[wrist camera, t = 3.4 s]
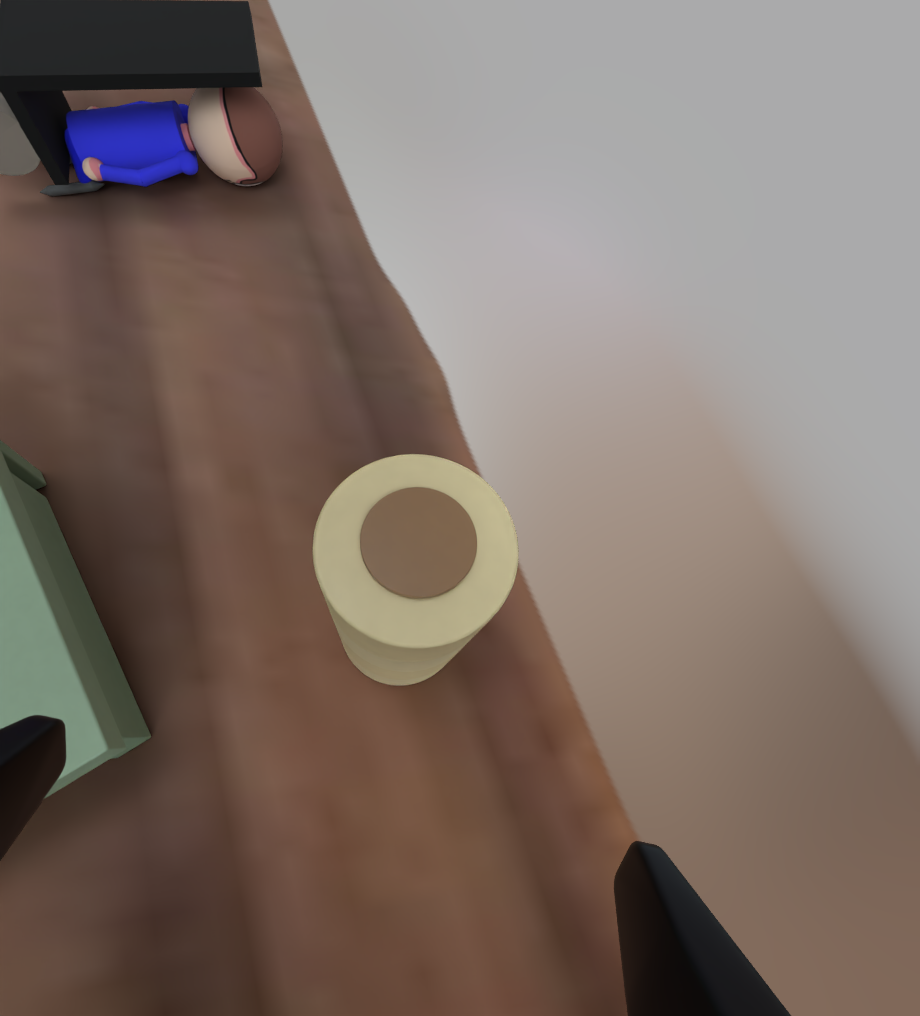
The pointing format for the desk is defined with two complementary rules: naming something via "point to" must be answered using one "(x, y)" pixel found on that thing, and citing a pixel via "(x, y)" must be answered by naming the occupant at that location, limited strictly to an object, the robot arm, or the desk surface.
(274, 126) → the figurine character
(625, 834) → the desk surface
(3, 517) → the shelf
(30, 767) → the robot arm
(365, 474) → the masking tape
